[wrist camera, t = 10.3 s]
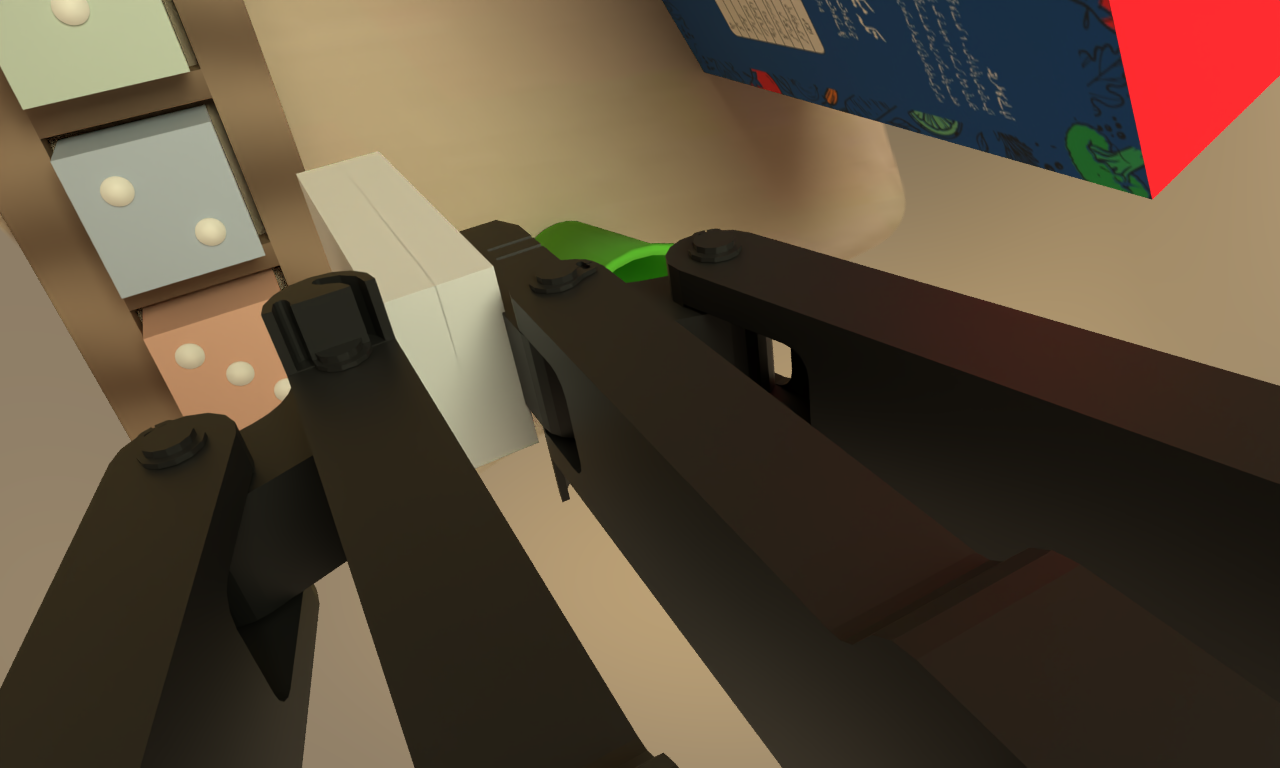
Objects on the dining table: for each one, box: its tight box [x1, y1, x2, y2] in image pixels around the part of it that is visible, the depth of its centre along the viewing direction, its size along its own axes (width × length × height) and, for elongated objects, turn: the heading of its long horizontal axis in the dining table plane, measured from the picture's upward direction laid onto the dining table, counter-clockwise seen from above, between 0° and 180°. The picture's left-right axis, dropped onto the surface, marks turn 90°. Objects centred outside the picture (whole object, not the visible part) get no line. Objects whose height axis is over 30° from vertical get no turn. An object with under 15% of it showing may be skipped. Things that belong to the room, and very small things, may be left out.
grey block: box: [50, 105, 265, 299], centre depth 38 cm, size 6×6×4 cm
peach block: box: [143, 268, 291, 431], centre depth 42 cm, size 6×6×4 cm
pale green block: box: [0, 0, 190, 110], centre depth 33 cm, size 6×6×4 cm
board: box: [0, 0, 332, 441], centre depth 39 cm, size 24×12×2 cm, turn 9°
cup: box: [535, 221, 674, 283], centre depth 46 cm, size 9×9×11 cm
